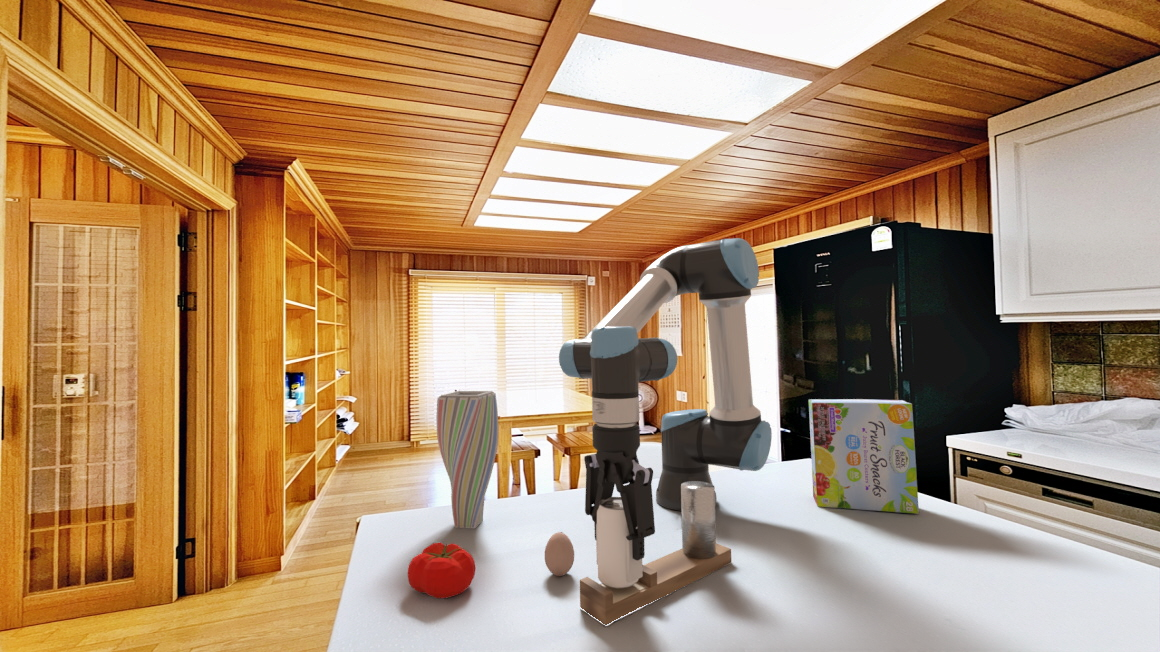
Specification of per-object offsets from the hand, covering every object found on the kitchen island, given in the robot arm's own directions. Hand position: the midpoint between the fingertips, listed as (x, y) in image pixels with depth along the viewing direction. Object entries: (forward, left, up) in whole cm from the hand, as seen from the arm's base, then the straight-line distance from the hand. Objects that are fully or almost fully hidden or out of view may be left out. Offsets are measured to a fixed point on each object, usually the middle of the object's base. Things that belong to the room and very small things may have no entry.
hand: (619, 570), depth 75 cm
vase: (-47, -4, -6) cm, 47 cm away
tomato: (-23, -20, -6) cm, 31 cm away
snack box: (+6, +75, -6) cm, 76 cm away
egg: (-14, -2, -6) cm, 15 cm away
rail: (0, +10, -5) cm, 11 cm away
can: (0, 0, -2) cm, 2 cm away
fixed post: (0, +20, -3) cm, 20 cm away
